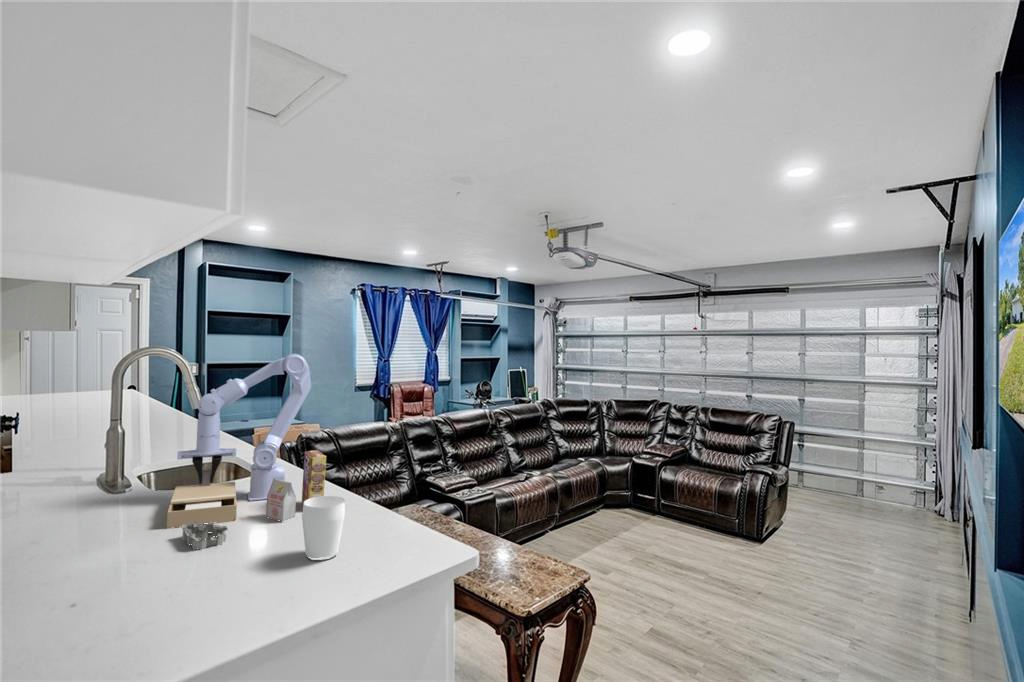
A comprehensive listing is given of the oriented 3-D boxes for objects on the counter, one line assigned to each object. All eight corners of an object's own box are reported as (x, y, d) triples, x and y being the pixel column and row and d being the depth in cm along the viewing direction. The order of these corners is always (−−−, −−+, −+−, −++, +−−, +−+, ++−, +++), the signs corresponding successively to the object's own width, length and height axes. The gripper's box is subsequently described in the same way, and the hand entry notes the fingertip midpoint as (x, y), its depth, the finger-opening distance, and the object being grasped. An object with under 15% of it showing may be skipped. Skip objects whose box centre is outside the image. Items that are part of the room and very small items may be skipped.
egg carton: (228, 545, 118) (229, 527, 118) (191, 553, 112) (192, 535, 112) (214, 532, 125) (215, 515, 125) (179, 539, 120) (180, 521, 120)
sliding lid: (234, 483, 152) (235, 468, 152) (235, 498, 138) (236, 481, 138) (175, 488, 145) (176, 472, 145) (170, 504, 131) (171, 486, 131)
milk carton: (278, 513, 139) (280, 477, 139) (294, 518, 136) (296, 481, 136) (266, 517, 136) (267, 480, 136) (282, 522, 133) (284, 484, 133)
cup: (324, 567, 108) (326, 510, 108) (290, 559, 111) (293, 504, 111) (351, 551, 116) (354, 498, 116) (319, 544, 119) (322, 493, 120)
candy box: (324, 509, 144) (326, 455, 144) (308, 512, 142) (311, 457, 142) (316, 501, 151) (318, 449, 152) (301, 503, 149) (303, 451, 149)
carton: (235, 503, 147) (235, 489, 147) (235, 520, 133) (236, 505, 133) (172, 509, 139) (173, 494, 139) (166, 528, 125) (167, 512, 125)
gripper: (236, 431, 155) (234, 476, 154) (179, 434, 147) (177, 481, 147) (237, 435, 148) (234, 482, 148) (177, 438, 141) (175, 487, 141)
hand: (206, 482), depth 147 cm, fingers closed on sliding lid, 2 cm apart
